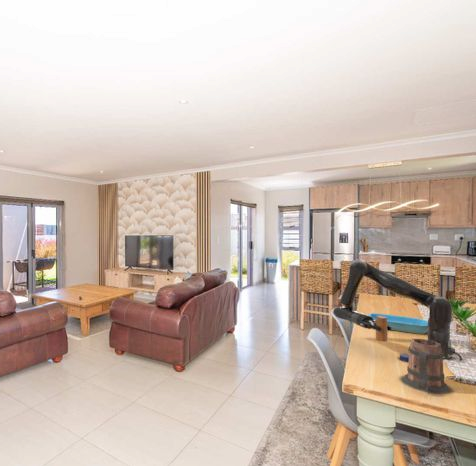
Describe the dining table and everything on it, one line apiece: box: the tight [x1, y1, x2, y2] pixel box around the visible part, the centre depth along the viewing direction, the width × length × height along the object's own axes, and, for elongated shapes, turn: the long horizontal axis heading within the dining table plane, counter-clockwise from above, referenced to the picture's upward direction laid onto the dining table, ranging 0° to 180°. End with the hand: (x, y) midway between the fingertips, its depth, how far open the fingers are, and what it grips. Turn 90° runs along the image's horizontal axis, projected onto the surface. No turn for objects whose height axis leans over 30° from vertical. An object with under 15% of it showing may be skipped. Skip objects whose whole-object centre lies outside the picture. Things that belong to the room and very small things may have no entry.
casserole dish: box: [366, 312, 428, 335], centre depth 236 cm, size 37×22×7 cm, turn 54°
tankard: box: [401, 338, 452, 394], centre depth 152 cm, size 24×17×20 cm
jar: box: [375, 316, 389, 343], centre depth 184 cm, size 5×5×13 cm
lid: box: [399, 353, 409, 363], centre depth 182 cm, size 6×6×2 cm
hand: (385, 329), depth 182 cm, fingers closed on jar, 5 cm apart
